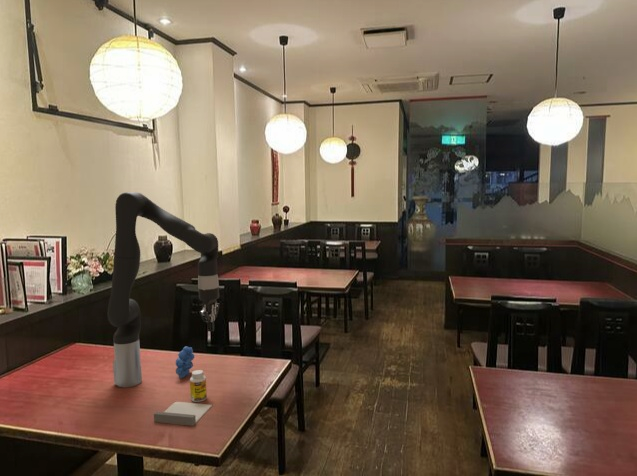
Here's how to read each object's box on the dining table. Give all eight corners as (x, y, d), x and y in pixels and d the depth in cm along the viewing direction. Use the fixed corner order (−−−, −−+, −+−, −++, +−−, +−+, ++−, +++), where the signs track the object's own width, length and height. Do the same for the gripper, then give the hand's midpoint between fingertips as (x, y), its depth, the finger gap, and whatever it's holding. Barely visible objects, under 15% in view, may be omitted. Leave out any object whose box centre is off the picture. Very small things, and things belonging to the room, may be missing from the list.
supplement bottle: (193, 404, 159) (192, 376, 157) (188, 398, 163) (187, 371, 162) (209, 400, 162) (207, 372, 160) (203, 394, 166) (202, 367, 165)
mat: (154, 421, 147) (153, 413, 147) (175, 402, 160) (175, 395, 160) (193, 425, 144) (192, 417, 144) (211, 406, 157) (211, 398, 157)
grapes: (184, 369, 190) (183, 341, 188) (198, 370, 188) (197, 343, 187) (168, 380, 179) (166, 351, 177) (183, 382, 177) (181, 353, 175)
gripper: (207, 282, 177) (209, 325, 179) (190, 290, 164) (193, 336, 166) (225, 282, 175) (227, 326, 177) (209, 290, 162) (212, 337, 164)
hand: (210, 330), depth 172 cm, fingers closed
